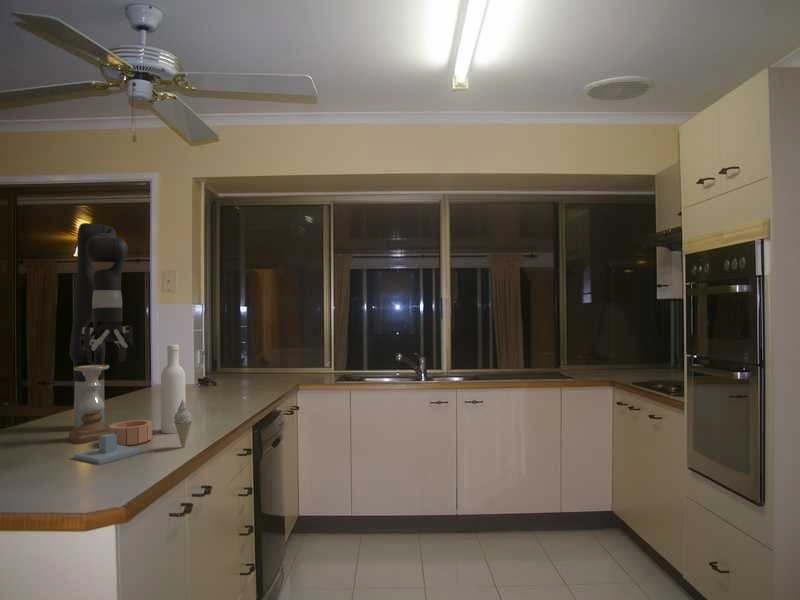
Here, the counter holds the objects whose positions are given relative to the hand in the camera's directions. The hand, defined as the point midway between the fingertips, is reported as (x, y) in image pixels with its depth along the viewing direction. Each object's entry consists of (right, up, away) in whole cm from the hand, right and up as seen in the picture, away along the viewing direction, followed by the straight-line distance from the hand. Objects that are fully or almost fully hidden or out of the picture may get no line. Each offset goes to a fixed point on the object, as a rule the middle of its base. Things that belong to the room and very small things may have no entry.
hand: (107, 362), depth 149 cm
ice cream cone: (+19, -27, +7) cm, 34 cm away
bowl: (-1, -27, +15) cm, 31 cm away
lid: (0, -27, -1) cm, 27 cm away
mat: (0, -27, -1) cm, 27 cm away
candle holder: (-18, -28, +22) cm, 40 cm away
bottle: (+6, -28, +31) cm, 42 cm away
